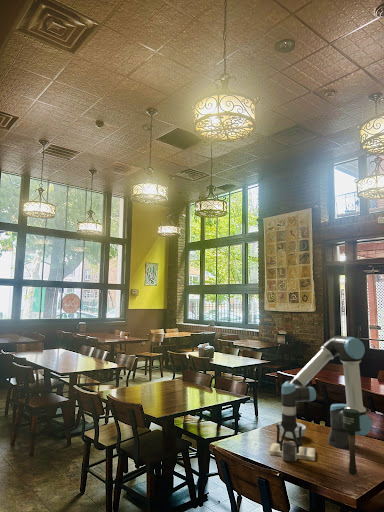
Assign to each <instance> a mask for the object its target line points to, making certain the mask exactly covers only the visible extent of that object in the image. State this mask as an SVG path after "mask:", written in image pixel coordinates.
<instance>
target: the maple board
mask: <svg viewBox="0 0 384 512" xmlns="http://www.w3.org/2000/svg"><path fill="white" fill-rule="evenodd" d="M269 455H270V456H277V457H282V451H280V444H277V442H272V443H271V444H270V447H269ZM297 459H299V460H305V461H311V462H312V461H313V462H315V461H316V448H315V447H314V448H313V447H306V446H302V447H301V446H300V447H299V454H298V453H297Z"/></svg>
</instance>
